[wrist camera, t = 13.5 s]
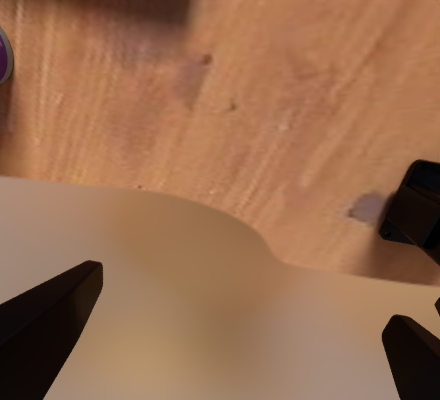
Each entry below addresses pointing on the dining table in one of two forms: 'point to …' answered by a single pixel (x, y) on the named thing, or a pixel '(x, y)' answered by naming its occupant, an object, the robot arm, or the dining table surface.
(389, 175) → the dining table surface
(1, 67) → the container
